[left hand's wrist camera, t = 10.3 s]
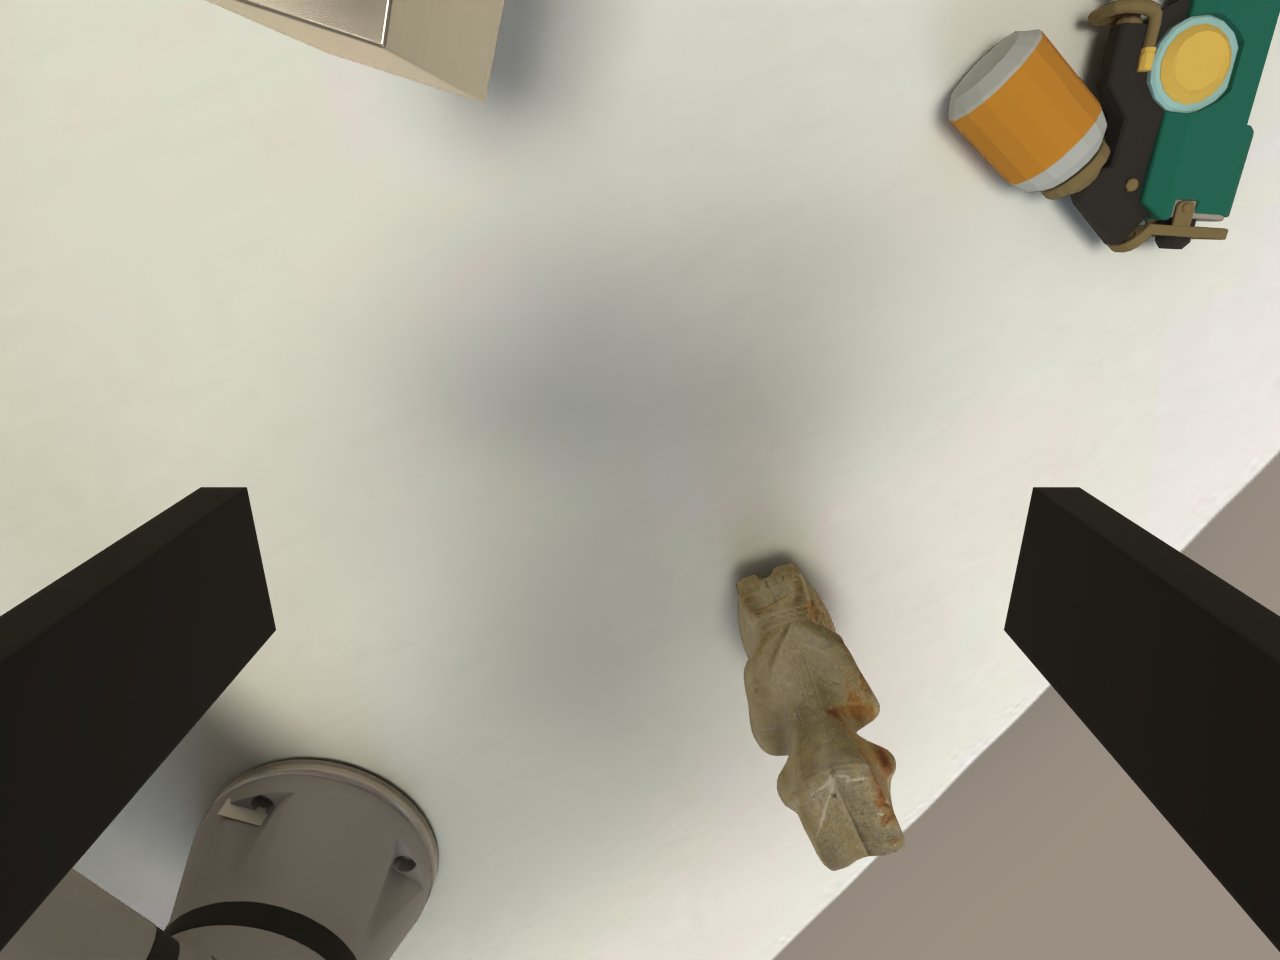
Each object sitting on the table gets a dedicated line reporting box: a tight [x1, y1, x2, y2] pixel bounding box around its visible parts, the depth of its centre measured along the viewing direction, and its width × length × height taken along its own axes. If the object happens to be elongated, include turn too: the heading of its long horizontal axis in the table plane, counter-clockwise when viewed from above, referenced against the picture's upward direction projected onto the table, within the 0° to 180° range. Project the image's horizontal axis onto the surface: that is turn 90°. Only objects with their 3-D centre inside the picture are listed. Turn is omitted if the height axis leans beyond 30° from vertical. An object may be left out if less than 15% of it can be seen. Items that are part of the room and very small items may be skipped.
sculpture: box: [737, 563, 905, 871], centre depth 34 cm, size 6×7×15 cm
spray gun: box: [948, 0, 1280, 252], centre depth 29 cm, size 4×17×15 cm
